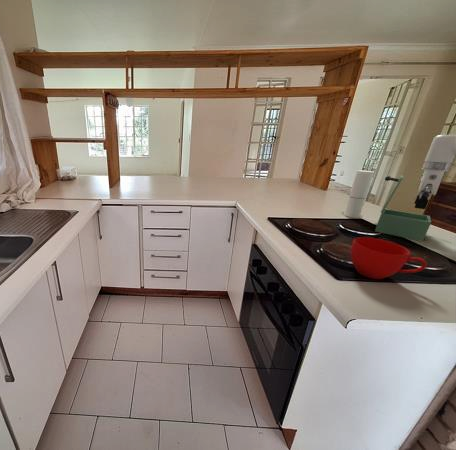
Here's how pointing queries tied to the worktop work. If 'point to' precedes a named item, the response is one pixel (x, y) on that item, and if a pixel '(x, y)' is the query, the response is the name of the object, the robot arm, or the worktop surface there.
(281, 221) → the worktop surface
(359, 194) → the cylindrical container
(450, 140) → the robot arm
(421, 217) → the green rectangular box
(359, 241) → the ceramic cup
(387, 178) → the lid
